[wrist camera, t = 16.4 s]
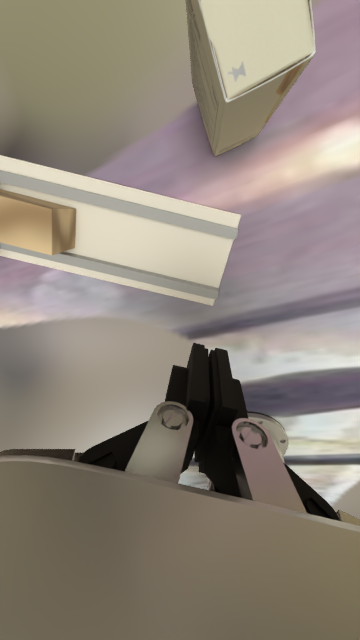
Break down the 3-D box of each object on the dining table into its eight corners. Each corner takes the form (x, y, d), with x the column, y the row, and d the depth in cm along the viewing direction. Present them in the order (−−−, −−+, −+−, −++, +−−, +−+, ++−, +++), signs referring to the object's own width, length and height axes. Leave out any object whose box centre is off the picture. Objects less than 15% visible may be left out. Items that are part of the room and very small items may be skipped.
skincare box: (258, 136, 21) (321, 62, 10) (213, 158, 22) (226, 112, 11) (239, 45, 19) (293, -176, 8) (188, 74, 20) (176, -87, 9)
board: (212, 302, 29) (216, 328, 22) (-34, 244, 28) (-102, 255, 21) (239, 214, 24) (253, 217, 18) (-52, 142, 23) (-144, 118, 17)
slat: (75, 247, 26) (52, 255, 22) (-35, 219, 25) (-79, 222, 21) (76, 208, 24) (51, 209, 20) (-42, 178, 24) (-91, 172, 20)
